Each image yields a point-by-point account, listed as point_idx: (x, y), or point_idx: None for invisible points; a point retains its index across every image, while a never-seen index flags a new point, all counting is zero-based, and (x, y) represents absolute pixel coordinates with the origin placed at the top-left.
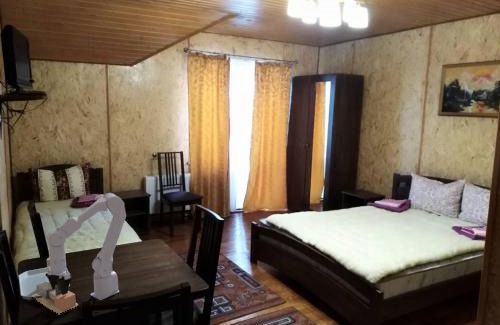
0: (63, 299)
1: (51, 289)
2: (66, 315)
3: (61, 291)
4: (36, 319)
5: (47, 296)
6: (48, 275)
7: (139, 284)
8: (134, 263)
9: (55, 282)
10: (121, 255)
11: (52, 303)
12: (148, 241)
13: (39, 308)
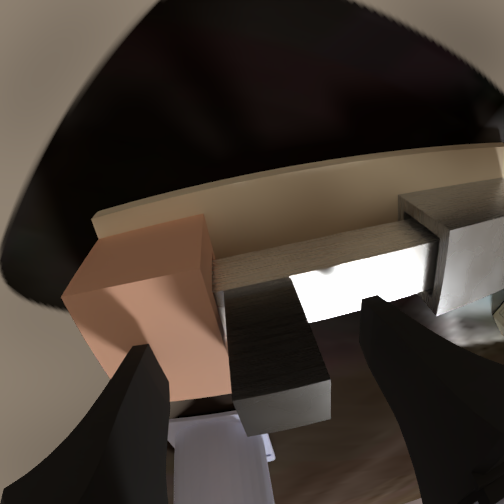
0: (76, 320)
1: (435, 276)
2: (61, 251)
3: (114, 377)
4: (131, 47)
5: None
6: (496, 446)
7: None
8: (378, 486)
9: (396, 381)
10: None
11: (296, 215)
12: None
13: (324, 112)
